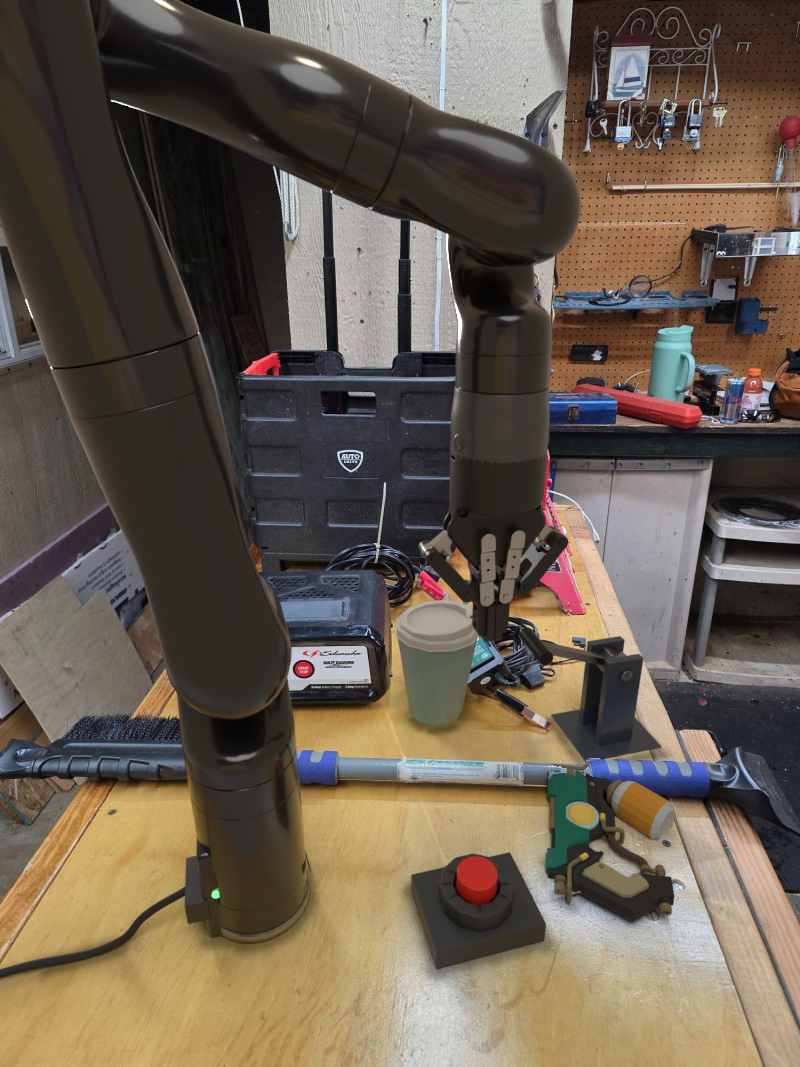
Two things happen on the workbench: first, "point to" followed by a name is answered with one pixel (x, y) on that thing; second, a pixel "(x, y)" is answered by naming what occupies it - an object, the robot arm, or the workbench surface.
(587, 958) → the workbench surface
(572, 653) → the lever
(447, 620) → the disposable coffee cup
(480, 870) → the button
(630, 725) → the bracket
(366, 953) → the workbench surface
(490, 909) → the control box
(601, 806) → the spray gun
